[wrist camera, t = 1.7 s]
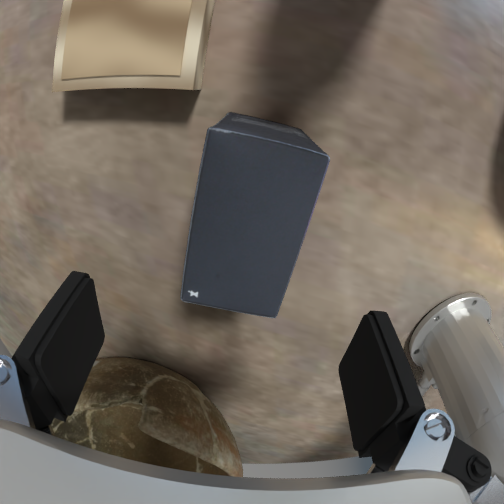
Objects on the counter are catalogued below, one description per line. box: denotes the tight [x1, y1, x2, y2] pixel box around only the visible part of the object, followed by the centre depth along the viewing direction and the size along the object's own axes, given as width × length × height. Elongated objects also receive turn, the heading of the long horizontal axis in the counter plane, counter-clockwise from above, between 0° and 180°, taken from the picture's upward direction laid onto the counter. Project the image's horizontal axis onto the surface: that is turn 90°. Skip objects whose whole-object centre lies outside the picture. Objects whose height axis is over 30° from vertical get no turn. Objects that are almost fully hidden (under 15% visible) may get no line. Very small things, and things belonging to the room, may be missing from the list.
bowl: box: [51, 357, 243, 477], centre depth 33 cm, size 28×27×15 cm
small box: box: [180, 112, 330, 318], centre depth 21 cm, size 11×6×10 cm, turn 167°
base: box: [52, 0, 215, 92], centre depth 17 cm, size 12×12×3 cm
